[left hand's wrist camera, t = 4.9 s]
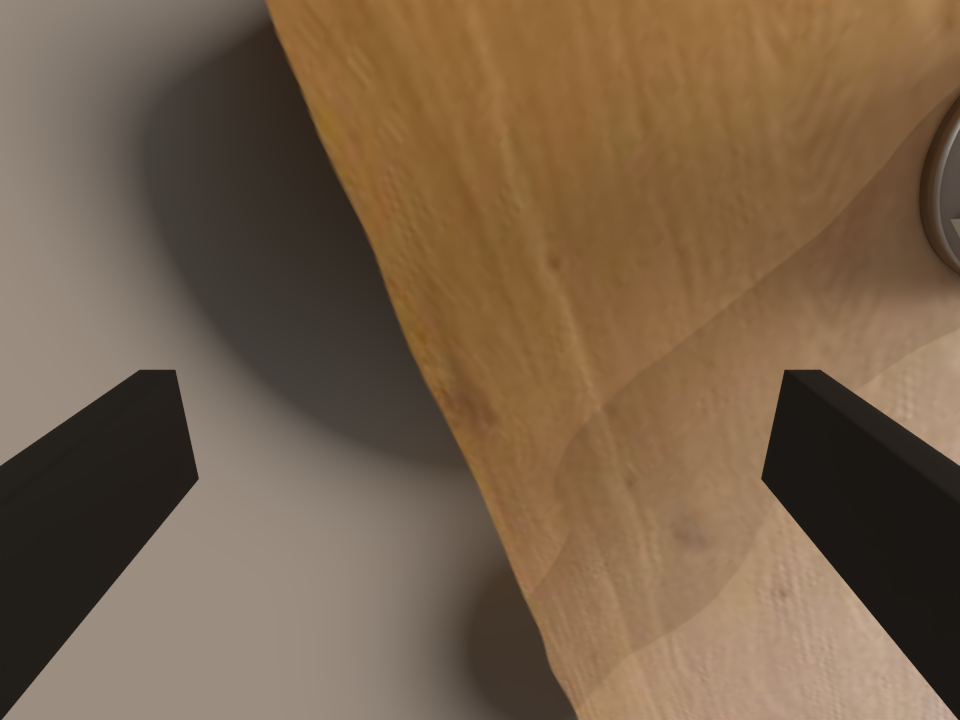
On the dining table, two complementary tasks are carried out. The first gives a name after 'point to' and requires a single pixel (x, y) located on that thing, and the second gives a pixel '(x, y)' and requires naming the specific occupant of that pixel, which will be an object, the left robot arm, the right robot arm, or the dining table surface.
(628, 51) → the dining table surface
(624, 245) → the dining table surface
